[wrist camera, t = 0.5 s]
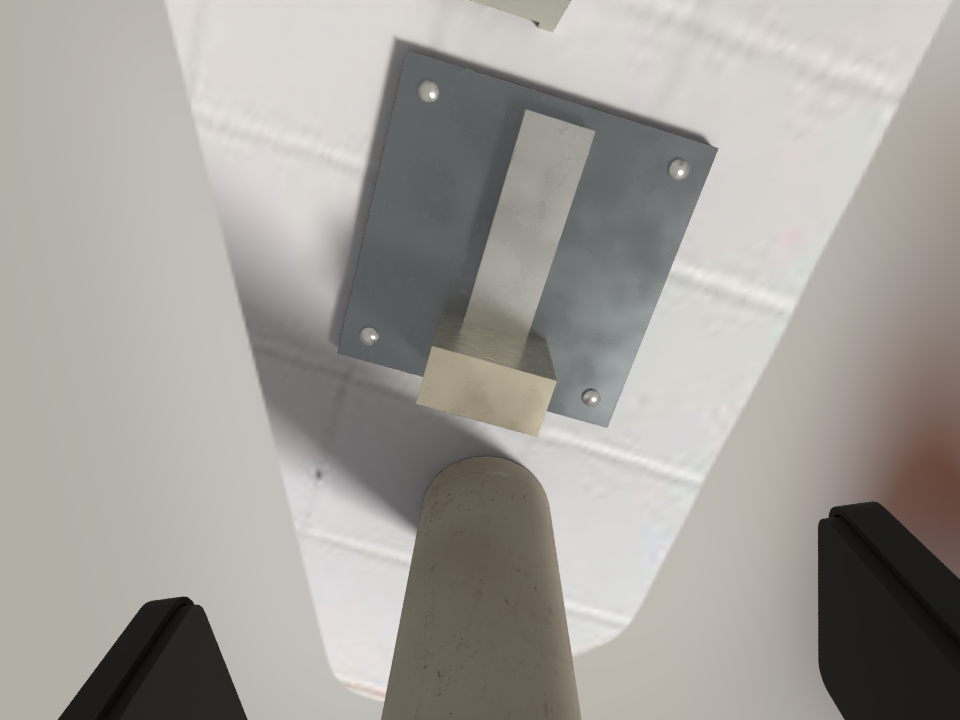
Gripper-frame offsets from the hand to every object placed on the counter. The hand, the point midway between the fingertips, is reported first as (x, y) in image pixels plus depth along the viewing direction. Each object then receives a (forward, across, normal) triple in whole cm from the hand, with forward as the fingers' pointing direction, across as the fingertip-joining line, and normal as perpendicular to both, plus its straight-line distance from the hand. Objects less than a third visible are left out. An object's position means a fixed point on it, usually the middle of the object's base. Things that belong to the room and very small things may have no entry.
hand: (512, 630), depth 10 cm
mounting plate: (+27, -1, -1) cm, 27 cm away
